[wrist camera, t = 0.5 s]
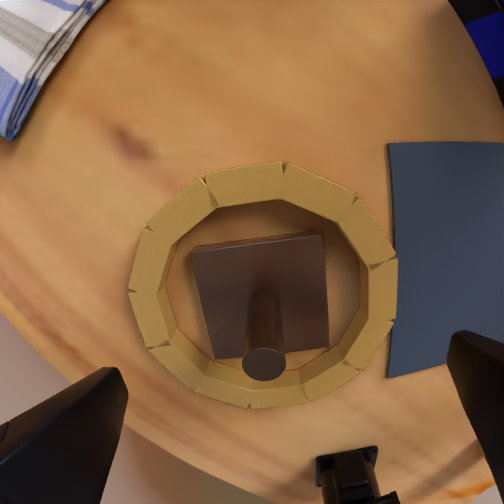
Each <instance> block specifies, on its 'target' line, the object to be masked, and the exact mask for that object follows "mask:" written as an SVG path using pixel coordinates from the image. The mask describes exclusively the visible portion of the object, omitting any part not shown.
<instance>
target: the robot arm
mask: <svg viewBox="0 0 504 504" xmlns="http://www.w3.org/2000/svg"><path fill="white" fill-rule="evenodd" d="M447 366H448V369H449V371H450V374H451V376H452V379H453V381H454V384H455V387H456V389H457V392H458V395H459V398H460V400H461V403H462V405H463V408H464V410H465V412H466V415H467V417H468V419H469V421H470V423H471V425H472V427H473V430H474V432H475V434H476V436H477V438H478V441H479V443H480V445H481V448H482V450H483V452H484V455H485V457H486V459H487V462H488V464H489V467H490V469H491V472H492V474H493V477H494V480H495V482H496V485H497V487H498V490H499V493H500V496H501V499H502V502H503V504H504V343H502V342H499V341H496V340H494V339H491V338H488V337H485V336H483V335H480V334H477V333H474V332H472V331H469V330H461V331H457V332H454V333H453V334H452V336H451V340H450V344H449V349H448V354H447ZM127 402H128V389H127V387H126V385H125V382H124V380H123V378H122V375H121V373H120V371H119V369H118V368H116V367H102V368H101V369H99V370H97V371H95V372H94V373H92V374H90V375H89V376H87V377H85V378H83V379H82V380H80V381H78V382H76V383H75V384H73V385H71V386H70V387H68V388H66V389H64V390H63V391H61V392H59V393H57V394H56V395H54V396H52V397H50V398H49V399H47V400H45V401H43V402H42V403H40V404H38V405H36V406H34V407H33V408H31V409H29V410H27V411H25V412H24V413H22V414H20V415H18V416H17V417H15V418H13V419H11V420H10V422H9V421H7V422H6V423H4V424H2V425H0V504H100V501H101V498H102V494H103V491H104V488H105V484H106V481H107V478H108V475H109V471H110V468H111V465H112V461H113V458H114V455H115V452H116V449H117V446H118V442H119V439H120V434H121V429H122V425H123V420H124V415H125V411H126V406H127ZM377 454H378V447H377V446H372V447H367V448H362V449H358V450H353V451H347V452H342V453H336V454H330V455H324V456H319V457H317V458H316V486H317V487H322V495H323V503H324V504H400V502H399V499H398V496H397V493H396V491H393V492H390V494H387V495H384V496H381V494H380V491H379V487H378V483H377V479H376V476H375V472H374V467H375V463H376V458H377Z"/></svg>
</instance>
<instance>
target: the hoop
mask: <svg viewBox="0 0 504 504" xmlns="http://www.w3.org/2000/svg"><path fill="white" fill-rule="evenodd" d="M275 199H282V200H284V201H286V202H289V203H291V204H294V205H296V206H299V207H301V208H303V209H306V210H308V211H310V212H313V213H315V214H317V215H320V216H322V217H324V218H327V219H329V220H331V221H334V222H335V224H336V225H337V227H338V228H339V229H340V231H341V232H342V234H343V235H344V237H345V238H346V240H347V241H348V242H349V244H350V245H351V247H352V248H353V250H354V251H355V253H356V254H357V256H358V257H359V259H360V307H359V309H358V311H357V313H356V315H355V316H354V318H353V320H352V321H351V323H350V325H349V327H348V328H347V330H346V332H345V333H344V335H343V337H342V338H341V340H340V342H339V343H338V345H337V346H335V347H333V348H332V349H330V350H329V351H327V352H326V353H324V354H322V355H321V356H319V357H317V358H316V359H314V360H313V361H311V362H309V363H308V364H306V365H304V366H303V367H301V368H299V369H295V370H287V371H284V372H283V373H282V375H281V376H279V377H278V378H276V379H274V380H271V381H257V380H254V379H252V378H250V377H249V376H248V375H247V374H246V373H245V372H244V371H242V370H239V369H236V368H233V367H230V366H227V365H224V364H221V363H218V362H215V361H212V360H210V359H209V358H208V357H207V356H206V355H204V354H203V353H202V352H201V351H200V350H199V349H198V348H197V347H196V346H195V345H194V344H193V343H192V342H191V341H190V340H189V339H188V338H187V337H186V336H185V335H184V334H183V333H182V332H181V330H180V329H179V328H178V327H177V324H176V321H175V317H174V314H173V310H172V307H171V303H170V299H169V295H168V292H167V288H166V284H165V283H166V280H167V276H168V273H169V270H170V266H171V263H172V260H173V257H174V254H175V251H176V247H177V244H178V241H179V239H180V238H181V237H182V236H183V235H185V234H186V233H187V232H188V231H189V230H191V229H192V228H193V227H194V226H195V225H197V224H198V223H199V222H200V221H201V220H203V219H204V218H205V217H206V216H208V215H209V214H210V213H211V212H212V211H214V210H215V209H216V208H220V207H226V206H233V205H240V204H246V203H254V202H261V201H268V200H275ZM146 224H147V226H146V227H144V228H143V230H142V233H141V237H140V241H139V244H138V248H137V252H136V256H135V260H134V264H133V268H132V272H131V276H130V280H129V284H128V288H129V289H131V290H130V292H129V293H128V295H129V298H130V302H131V305H132V308H133V311H134V314H135V317H136V320H137V323H138V326H139V329H140V332H141V335H142V338H143V341H144V343H145V346H146V347H151V348H150V350H149V352H150V353H151V354H152V355H153V356H154V357H155V358H156V359H157V360H158V361H159V362H160V363H161V364H162V365H163V366H164V367H165V368H166V369H167V370H168V371H170V372H171V373H172V374H173V375H174V376H175V377H176V378H177V379H178V380H179V381H180V382H182V383H183V384H184V385H185V386H186V387H187V388H188V389H191V388H193V387H194V386H195V388H194V392H196V393H199V394H202V395H205V396H208V397H211V398H214V399H217V400H220V401H223V402H226V403H229V404H233V405H236V406H239V407H243V408H247V407H248V405H249V403H250V406H251V409H258V408H270V407H280V406H289V405H298V404H305V403H307V398H308V399H309V400H310V401H311V402H312V401H314V400H316V399H318V398H320V397H321V396H323V395H325V394H327V393H329V392H330V391H332V390H334V389H336V388H337V387H339V386H341V385H342V384H344V383H346V382H347V381H349V380H351V379H352V378H354V377H356V376H357V375H359V374H360V373H359V371H358V369H359V370H364V369H365V367H366V366H367V364H368V363H369V361H370V360H371V359H372V357H373V356H374V354H375V353H376V351H377V349H378V348H379V346H380V345H381V343H382V342H383V340H384V339H385V337H386V335H387V334H388V332H389V331H390V329H391V327H392V326H393V324H394V323H393V321H392V320H391V319H395V318H396V304H397V279H398V259H397V258H396V257H395V256H394V255H395V254H396V252H395V250H394V249H393V247H392V245H391V244H390V242H389V240H388V239H387V237H386V235H385V234H384V232H383V230H382V229H381V227H380V226H379V224H378V222H377V221H376V219H375V218H374V216H373V214H372V213H371V211H370V210H369V208H368V207H367V205H366V204H365V202H364V201H363V199H362V198H361V197H359V196H357V195H356V193H355V192H353V191H351V190H349V189H347V188H345V187H342V186H340V185H338V184H336V183H334V182H332V181H329V180H327V179H325V178H323V177H320V176H318V175H316V174H314V173H311V172H309V171H307V170H304V169H302V168H300V167H297V166H295V165H293V164H290V163H287V162H286V163H285V164H284V167H283V168H282V162H280V161H276V162H269V163H261V164H254V165H247V166H241V167H234V168H228V169H222V170H216V171H211V172H208V173H205V175H202V176H199V177H197V178H196V179H195V180H194V181H192V182H191V183H190V184H189V185H188V186H187V187H185V188H184V189H183V190H182V191H181V192H180V193H179V194H177V195H176V196H175V197H174V198H173V199H172V200H171V201H170V202H168V203H167V204H166V205H165V206H164V207H163V208H162V209H161V210H160V211H158V212H157V213H156V214H155V215H154V216H153V217H152V218H151V219H150V220H149V221H148V222H147V223H146Z"/></svg>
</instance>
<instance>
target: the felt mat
mask: <svg viewBox="0 0 504 504" xmlns="http://www.w3.org/2000/svg"><path fill="white" fill-rule="evenodd" d="M387 147H388V156H389V166H390V177H391V191H392V207H393V233H394V250H395V252H396V254H395V255H394V256H395V257H396V258H397V259H398V279H397V304H396V318H395V319H392V321H393V323H394V324H393V326H392V327H391V339H390V350H389V360H388V369H387V378H392V377H396V376H401V375H405V374H409V373H413V372H416V371H420V370H424V369H428V368H431V367H435V366H438V365H441V364H445V363H447V354H448V349H449V344H450V340H451V336H452V334H453V333H454V332H457V331H461V330H469V331H472V332H474V333H477V334H480V335H483V336H485V337H488V338H491V339H494V340H496V341H499V342H502V343H504V144H502V143H479V142H407V143H387Z"/></svg>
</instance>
